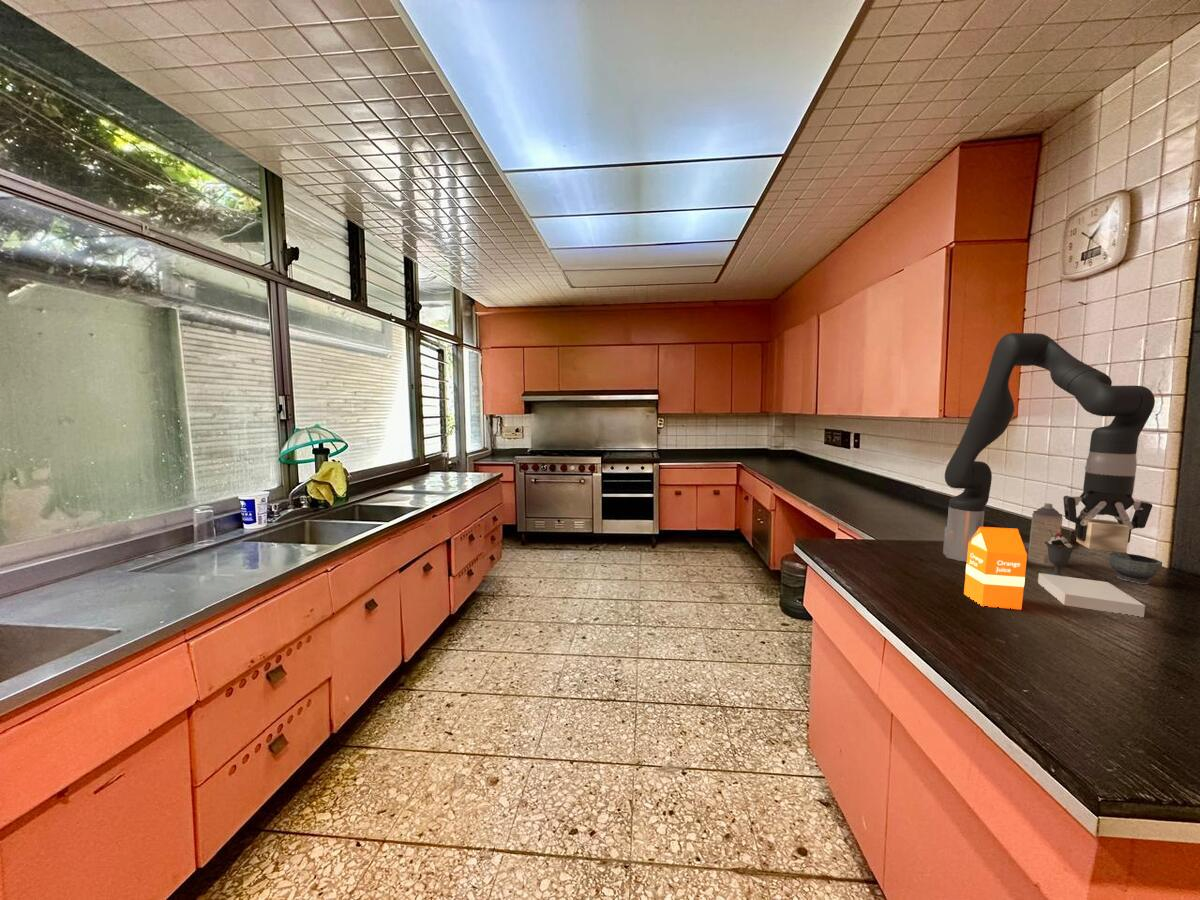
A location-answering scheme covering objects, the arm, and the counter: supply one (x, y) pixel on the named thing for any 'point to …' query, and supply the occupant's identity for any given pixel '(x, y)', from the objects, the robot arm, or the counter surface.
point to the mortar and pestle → (1134, 566)
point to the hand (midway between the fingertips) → (1101, 541)
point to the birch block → (1106, 536)
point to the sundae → (1059, 552)
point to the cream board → (1090, 594)
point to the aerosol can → (1043, 534)
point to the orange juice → (996, 568)
